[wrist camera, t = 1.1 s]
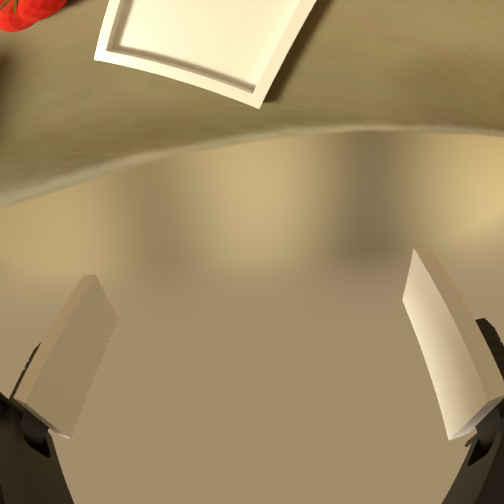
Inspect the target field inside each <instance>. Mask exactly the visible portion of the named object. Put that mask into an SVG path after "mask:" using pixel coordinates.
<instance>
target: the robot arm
mask: <svg viewBox="0 0 504 504" xmlns="http://www.w3.org/2000/svg"><path fill="white" fill-rule="evenodd" d="M403 303H404V305H405V308H406V310H407V313H408V315H409V318H410V320H411V323H412V325H413V328H414V330H415V333H416V336H417V338H418V341H419V344H420V347H421V349H422V352H423V355H424V358H425V361H426V363H427V366H428V369H429V372H430V376H431V379H432V382H433V385H434V388H435V391H436V395H437V398H438V401H439V405H440V408H441V412H442V416H443V419H444V423H445V427H446V431H447V435H448V439H449V440H451V439H454V438H457V437H460V436H463V435H465V434H468V433H469V432H470V431H471V430H472V429H473V428H474V427H475V426H476V430H477V434H475V435H474V436H473V437H472V438H471V439H470V440H468V441H467V443H466V444H465V447H468V446H469V445H470V444H471V443H472V444H471V447H470V449H469V451H468V454H467V456H466V458H465V460H464V462H463V464H462V467H461V469H460V471H459V473H458V475H457V477H456V479H455V481H454V483H453V484H452V487H451V488H450V490H449V492H448V494H447V495H446V497H445V499H444V501H443V502H442V504H504V346H503V344H502V342H500V338H499V336H498V334H497V332H496V331H495V328H494V327H493V326H492V325H491V324H490V323H489V322H488V321H487V320H486V319H485V318H482V319H477V320H475V319H474V318H473V316H472V314H471V312H470V310H469V308H468V306H467V305H466V303H465V301H464V300H463V298H462V296H461V294H460V293H459V291H458V289H457V288H456V286H455V284H454V283H453V281H452V279H451V278H450V276H449V275H448V273H447V271H446V270H445V268H444V267H443V265H442V264H441V262H440V260H439V259H438V257H437V256H436V254H435V253H434V251H433V250H432V249H431V247H421V248H414V250H413V255H412V260H411V265H410V270H409V274H408V279H407V284H406V288H405V292H404V296H403ZM118 321H119V317H118V315H117V313H116V312H115V310H114V308H113V306H112V304H111V303H110V301H109V299H108V297H107V295H106V293H105V292H104V290H103V288H102V286H101V284H100V282H99V280H98V278H97V276H96V275H85V276H83V277H82V278H81V280H80V281H79V283H78V284H77V286H76V287H75V289H74V290H73V292H72V293H71V295H70V296H69V298H68V300H67V301H66V303H65V304H64V306H63V307H62V309H61V310H60V312H59V314H58V316H57V317H56V319H55V320H54V322H53V324H52V325H51V327H50V329H49V330H48V332H47V334H46V336H45V337H44V339H43V341H42V342H41V343H40V344H39V345H38V346H37V347H36V348H35V349H34V351H33V353H32V355H31V357H30V358H29V362H27V364H26V366H25V370H23V371H22V373H21V375H20V377H19V380H18V381H17V383H16V386H15V388H14V390H13V392H12V394H11V396H10V398H9V399H7V398H6V397H5V396H4V395H3V394H2V393H1V392H0V504H74V502H73V500H72V497H71V495H70V492H69V490H68V487H67V484H66V482H65V479H64V476H63V473H62V470H61V467H60V464H59V460H58V457H57V454H56V450H55V447H54V443H53V440H52V437H51V435H50V433H48V429H49V428H50V429H51V430H53V431H54V432H55V433H57V434H59V435H61V436H64V437H67V438H70V439H71V438H72V435H73V432H74V430H75V427H76V424H77V421H78V418H79V415H80V413H81V410H82V407H83V404H84V402H85V399H86V397H87V394H88V392H89V389H90V386H91V384H92V381H93V379H94V376H95V374H96V371H97V369H98V367H99V364H100V362H101V359H102V357H103V355H104V353H105V350H106V348H107V345H108V343H109V341H110V338H111V337H112V334H113V332H114V330H115V328H116V326H117V323H118Z"/></svg>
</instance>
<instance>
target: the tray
mask: <svg viewBox="0 0 504 504" xmlns="http://www.w3.org/2000/svg"><path fill="white" fill-rule="evenodd" d="M315 2H316V0H110V1H109V4H108V7H107V10H106V14H105V17H104V21H103V24H102V28H101V32H100V36H99V40H98V44H97V48H96V53H95V57H94V60H99V61H104V62H109V63H114V64H118V65H123V66H127V67H131V68H136V69H140V70H144V71H147V72H151V73H155V74H159V75H162V76H166V77H169V78H173V79H176V80H179V81H183V82H186V83H189V84H192V85H195V86H198V87H201V88H204V89H207V90H210V91H213V92H216V93H219V94H222V95H224V96H227V97H230V98H232V99H235V100H238V101H240V102H243V103H246V104H248V105H251V106H253V107H256V108H258V109H259V108H260V106H261V104H262V102H263V100H264V98H265V96H266V94H267V92H268V90H269V88H270V86H271V84H272V82H273V80H274V78H275V76H276V74H277V72H278V70H279V68H280V66H281V64H282V63H283V61H284V59H285V57H286V55H287V53H288V51H289V49H290V47H291V45H292V44H293V42H294V40H295V38H296V36H297V34H298V32H299V31H300V29H301V27H302V25H303V23H304V22H305V20H306V18H307V16H308V14H309V13H310V11H311V9H312V7H313V6H314V4H315Z"/></svg>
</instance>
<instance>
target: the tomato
mask: <svg viewBox="0 0 504 504" xmlns="http://www.w3.org/2000/svg"><path fill="white" fill-rule="evenodd" d="M66 1H67V0H0V29H2V30H4V31H8V32H16V31H20V30H23V29H26V28H28V27H30V26H31V25H33V24H34V23H36V22H37V21H40V20H42V19H45V18H47V17H49V16H51V15H52V14H54V13H55V12H57V11H58V10H60V9H61V8H62V7H63V5H64V4H65V3H66Z"/></svg>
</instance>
